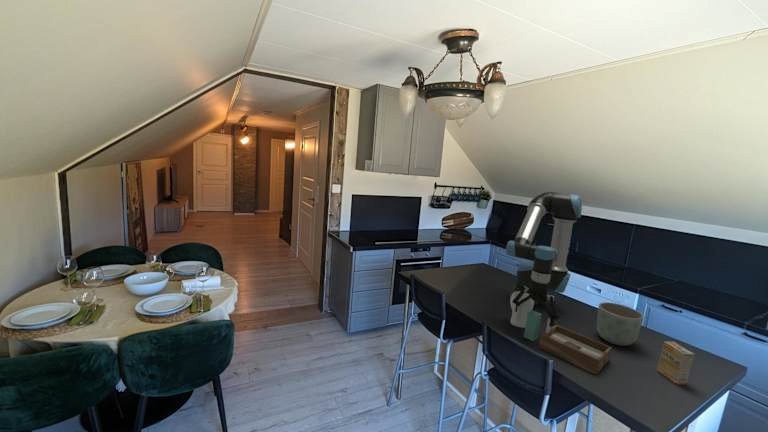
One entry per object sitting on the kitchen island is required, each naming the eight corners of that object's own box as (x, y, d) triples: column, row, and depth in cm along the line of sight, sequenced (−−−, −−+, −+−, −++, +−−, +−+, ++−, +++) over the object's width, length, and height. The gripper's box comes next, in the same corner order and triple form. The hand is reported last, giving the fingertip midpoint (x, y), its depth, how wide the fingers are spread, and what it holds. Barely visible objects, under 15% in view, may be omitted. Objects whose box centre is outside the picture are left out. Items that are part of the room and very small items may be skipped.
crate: (554, 336, 151) (556, 324, 150) (609, 360, 135) (611, 347, 134) (538, 347, 141) (540, 334, 140) (596, 374, 125) (598, 360, 124)
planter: (628, 336, 158) (635, 306, 155) (643, 354, 142) (650, 322, 139) (588, 328, 163) (594, 299, 160) (598, 345, 147) (605, 313, 144)
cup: (532, 330, 155) (537, 301, 153) (509, 327, 157) (513, 297, 155) (527, 320, 166) (531, 292, 163) (505, 317, 168) (509, 289, 165)
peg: (528, 334, 152) (532, 310, 150) (537, 338, 149) (541, 314, 147) (523, 336, 149) (527, 312, 147) (533, 341, 146) (537, 316, 144)
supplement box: (655, 370, 130) (663, 340, 128) (666, 371, 131) (674, 341, 129) (675, 385, 122) (683, 353, 120) (687, 385, 123) (695, 353, 121)
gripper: (509, 273, 151) (502, 316, 154) (566, 292, 133) (557, 340, 136) (517, 271, 156) (510, 312, 159) (573, 289, 138) (564, 335, 141)
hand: (532, 325), depth 148 cm, fingers open, 13 cm apart
